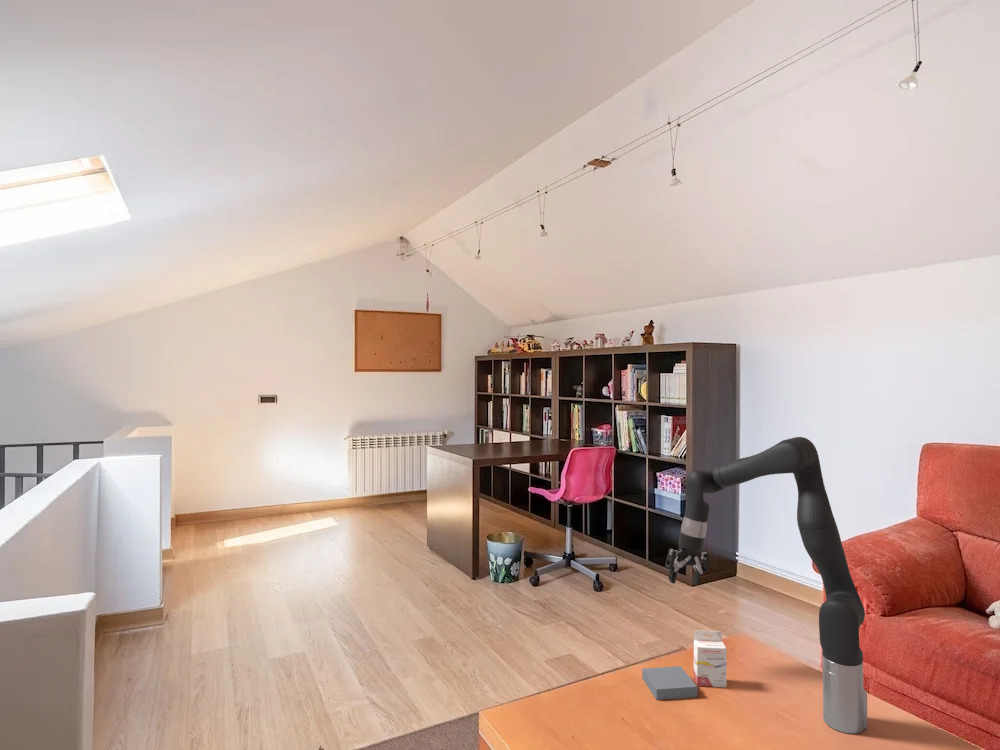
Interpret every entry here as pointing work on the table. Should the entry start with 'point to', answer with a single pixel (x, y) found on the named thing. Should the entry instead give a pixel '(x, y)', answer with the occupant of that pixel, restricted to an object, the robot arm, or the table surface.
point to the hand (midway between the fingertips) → (683, 583)
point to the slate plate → (669, 683)
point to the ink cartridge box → (709, 659)
